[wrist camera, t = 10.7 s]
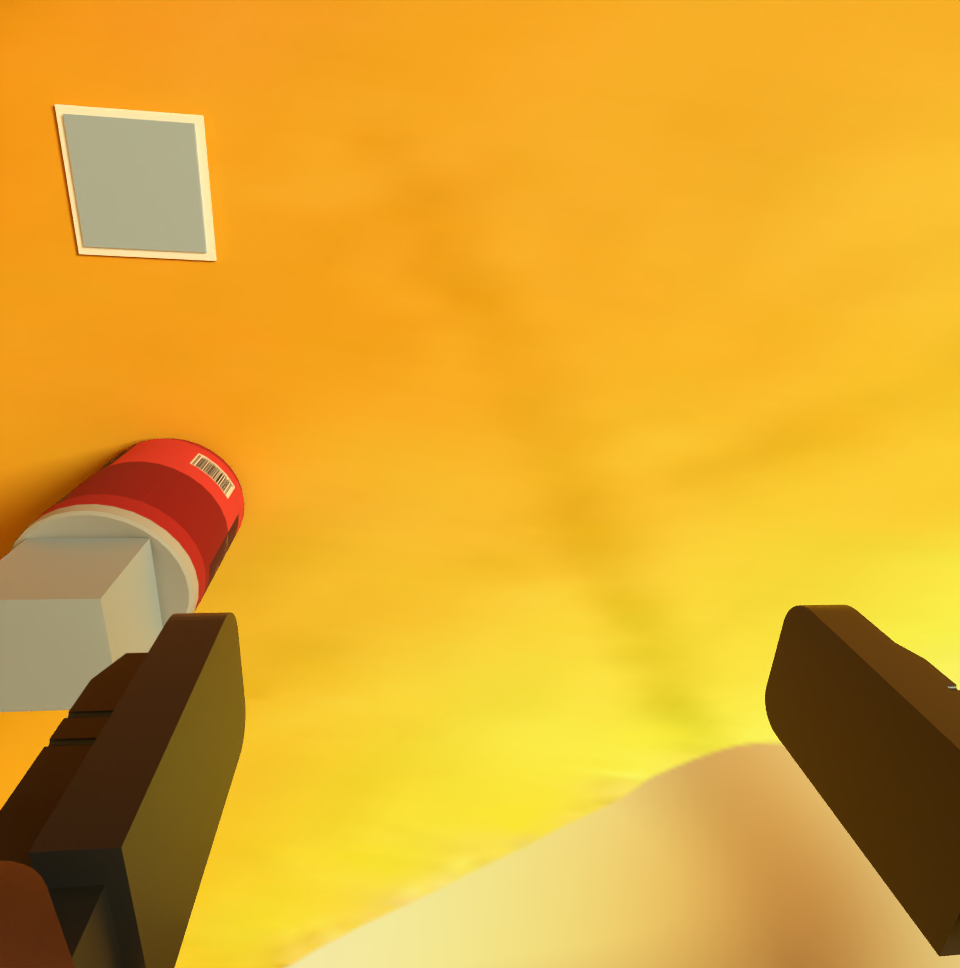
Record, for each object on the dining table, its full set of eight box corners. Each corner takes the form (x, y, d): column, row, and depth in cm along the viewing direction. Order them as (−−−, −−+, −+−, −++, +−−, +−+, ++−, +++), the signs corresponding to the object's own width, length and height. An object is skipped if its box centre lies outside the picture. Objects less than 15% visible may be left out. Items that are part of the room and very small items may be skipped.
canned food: (109, 423, 37) (-2, 497, 27) (253, 446, 38) (200, 524, 28) (108, 541, 40) (6, 649, 29) (243, 558, 41) (190, 667, 31)
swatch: (56, 104, 31) (52, 103, 31) (203, 116, 32) (201, 114, 32) (80, 253, 34) (77, 254, 33) (216, 260, 34) (214, 261, 34)
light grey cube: (26, 538, 28) (-49, 600, 23) (149, 538, 28) (100, 598, 24) (48, 636, 29) (-18, 712, 25) (163, 634, 30) (120, 708, 25)
